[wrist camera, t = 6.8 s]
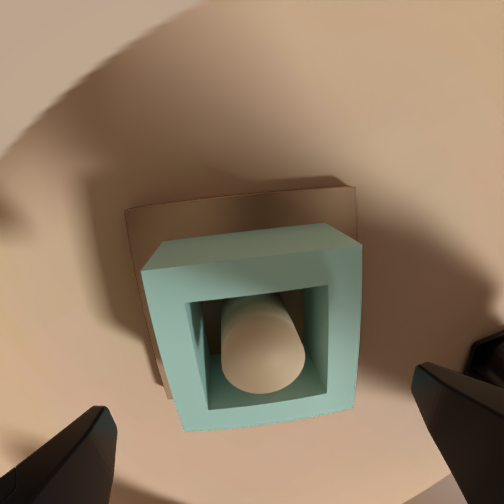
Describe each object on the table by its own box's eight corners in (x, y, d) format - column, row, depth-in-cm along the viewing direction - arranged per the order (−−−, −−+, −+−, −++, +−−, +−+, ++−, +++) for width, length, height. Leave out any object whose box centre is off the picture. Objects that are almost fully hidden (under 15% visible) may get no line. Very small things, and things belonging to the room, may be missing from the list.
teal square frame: (325, 222, 14) (362, 244, 10) (327, 358, 16) (353, 408, 12) (162, 241, 13) (140, 270, 10) (190, 376, 15) (184, 431, 11)
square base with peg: (348, 185, 14) (407, 198, 9) (346, 367, 17) (382, 428, 12) (129, 208, 14) (83, 231, 9) (169, 390, 16) (156, 459, 11)
